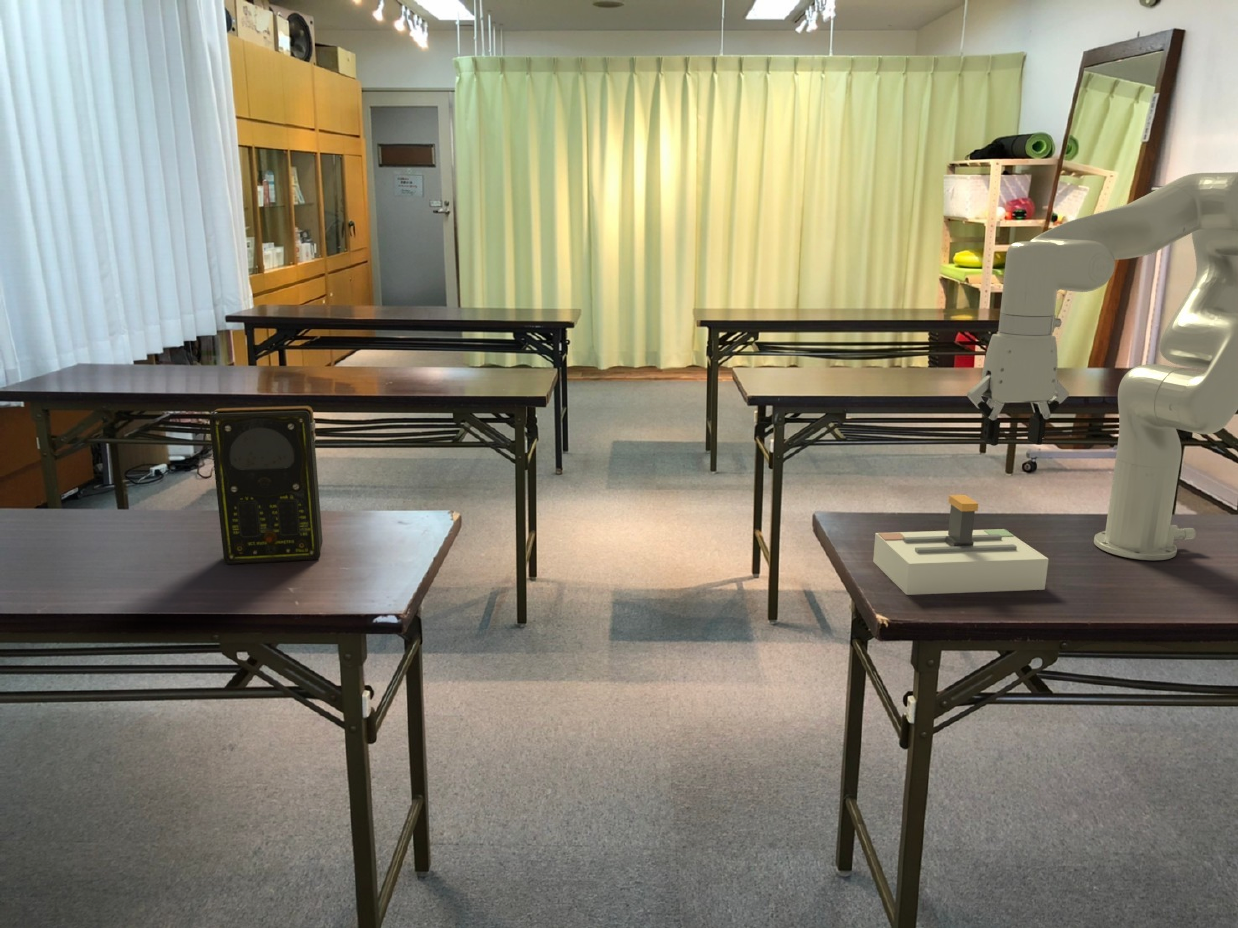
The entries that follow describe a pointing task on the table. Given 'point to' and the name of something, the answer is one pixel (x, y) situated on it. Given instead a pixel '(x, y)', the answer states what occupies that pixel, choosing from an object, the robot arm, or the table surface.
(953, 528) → the handle
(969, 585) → the switch box
